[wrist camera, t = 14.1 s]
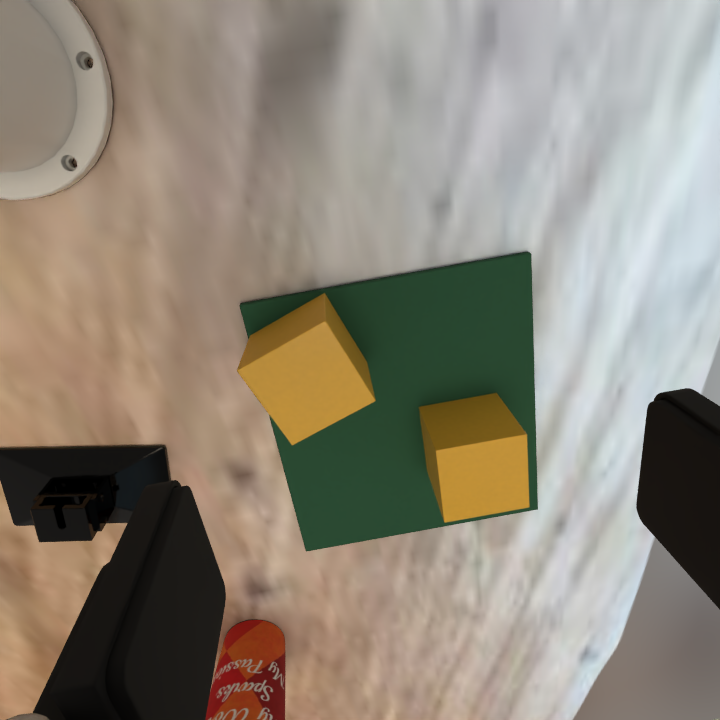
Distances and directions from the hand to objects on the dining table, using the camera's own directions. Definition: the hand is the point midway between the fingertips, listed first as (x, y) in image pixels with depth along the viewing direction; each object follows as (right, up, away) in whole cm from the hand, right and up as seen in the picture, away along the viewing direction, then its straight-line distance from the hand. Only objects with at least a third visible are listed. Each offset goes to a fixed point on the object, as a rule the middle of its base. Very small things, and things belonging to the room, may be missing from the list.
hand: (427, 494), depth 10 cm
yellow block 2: (+6, -3, +29) cm, 29 cm away
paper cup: (-11, -23, +37) cm, 45 cm away
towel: (+2, -2, +28) cm, 28 cm away
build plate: (-22, -7, +29) cm, 37 cm away
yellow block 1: (-5, +4, +25) cm, 26 cm away
